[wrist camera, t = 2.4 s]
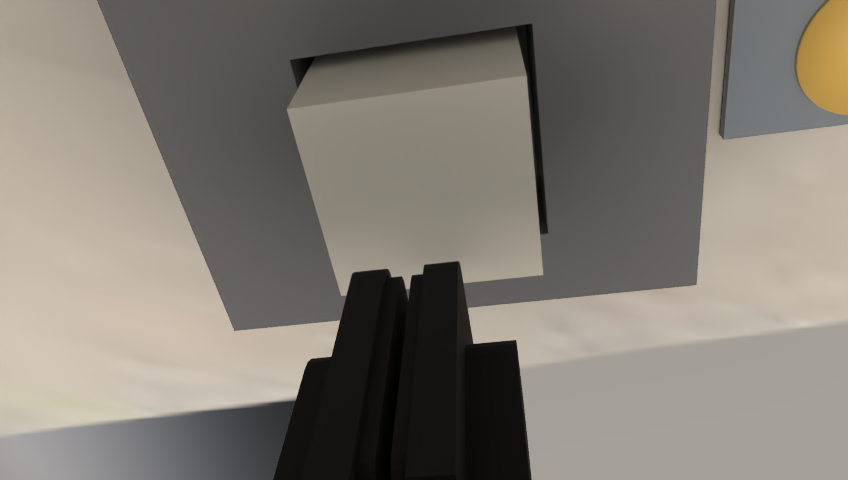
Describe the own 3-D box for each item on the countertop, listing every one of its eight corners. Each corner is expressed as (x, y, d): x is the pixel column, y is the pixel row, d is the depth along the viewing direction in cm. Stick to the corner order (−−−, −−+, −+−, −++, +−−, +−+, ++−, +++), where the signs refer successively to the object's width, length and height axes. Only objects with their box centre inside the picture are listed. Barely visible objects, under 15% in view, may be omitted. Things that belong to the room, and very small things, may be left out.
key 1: (315, 56, 15) (286, 109, 12) (515, 26, 14) (526, 75, 12) (358, 223, 17) (341, 295, 15) (530, 202, 17) (543, 274, 14)
